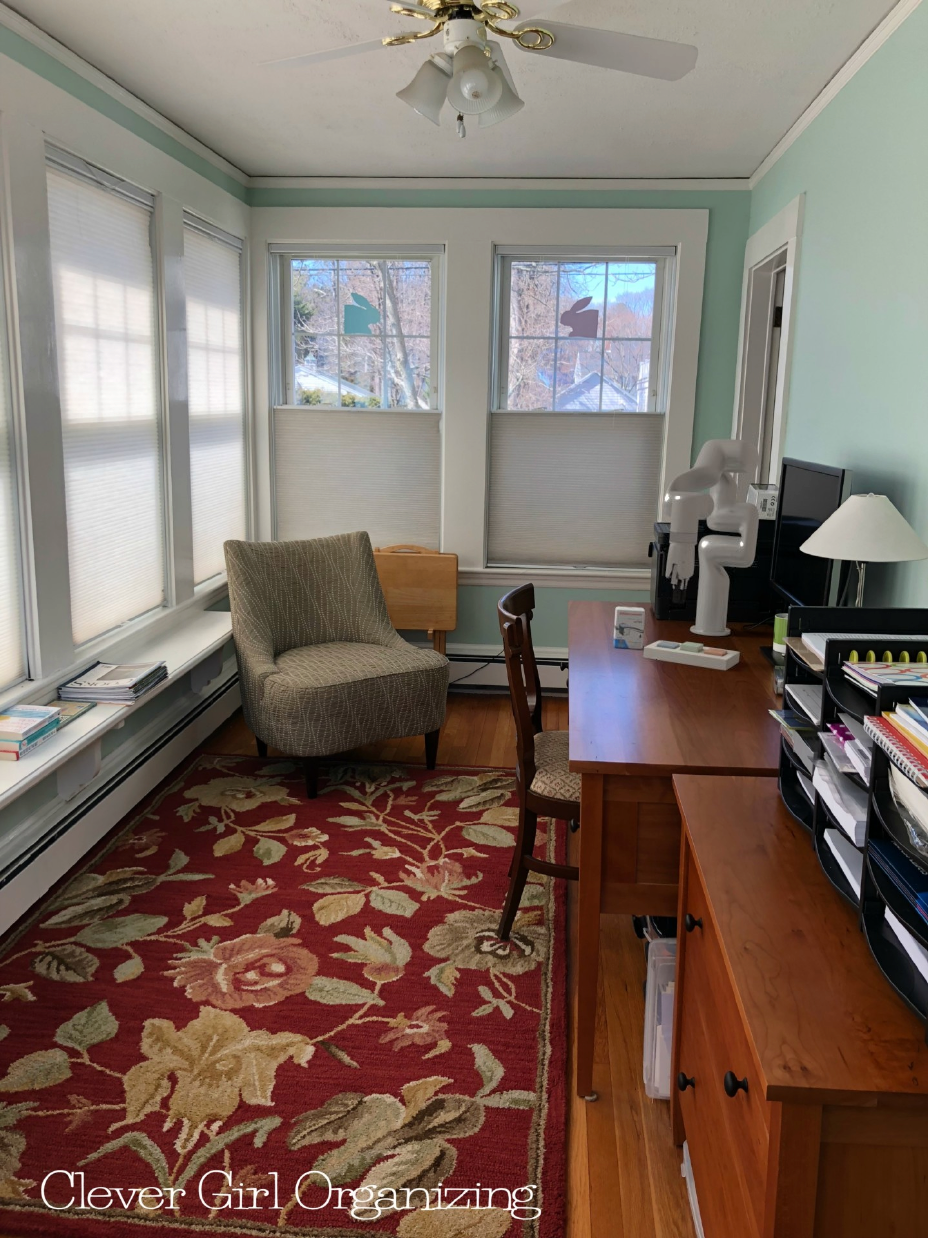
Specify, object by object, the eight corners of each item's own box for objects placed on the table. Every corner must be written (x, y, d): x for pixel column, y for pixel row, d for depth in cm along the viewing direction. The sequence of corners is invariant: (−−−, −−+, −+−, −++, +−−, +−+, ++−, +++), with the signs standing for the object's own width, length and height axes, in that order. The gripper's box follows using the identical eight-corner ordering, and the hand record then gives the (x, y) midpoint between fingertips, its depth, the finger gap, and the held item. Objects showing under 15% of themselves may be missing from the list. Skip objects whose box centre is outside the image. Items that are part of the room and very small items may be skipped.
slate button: (662, 650, 284) (663, 641, 283) (679, 652, 281) (679, 643, 280) (656, 653, 279) (656, 644, 279) (672, 655, 277) (673, 646, 276)
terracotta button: (709, 657, 276) (710, 648, 276) (726, 660, 274) (727, 650, 273) (703, 660, 272) (704, 651, 272) (720, 663, 270) (721, 653, 269)
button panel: (658, 649, 288) (659, 640, 287) (738, 662, 275) (739, 651, 275) (643, 657, 278) (643, 647, 277) (725, 670, 265) (726, 659, 265)
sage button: (685, 650, 280) (686, 641, 279) (702, 653, 277) (703, 644, 277) (679, 653, 276) (680, 644, 275) (696, 656, 273) (697, 647, 272)
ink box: (613, 648, 289) (616, 609, 287) (612, 644, 294) (615, 606, 292) (643, 649, 288) (645, 610, 286) (641, 645, 293) (644, 607, 291)
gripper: (680, 535, 281) (676, 597, 284) (660, 539, 268) (656, 604, 272) (705, 537, 276) (700, 600, 280) (686, 541, 264) (681, 607, 268)
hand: (678, 602), depth 276 cm, fingers closed
